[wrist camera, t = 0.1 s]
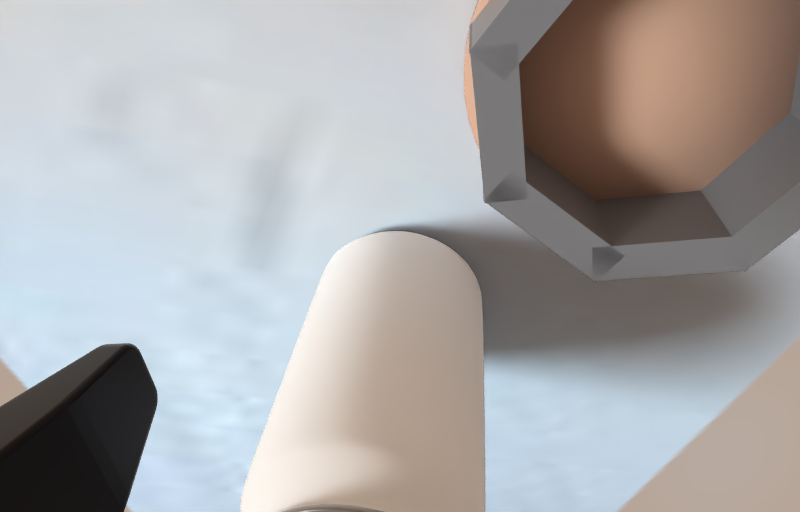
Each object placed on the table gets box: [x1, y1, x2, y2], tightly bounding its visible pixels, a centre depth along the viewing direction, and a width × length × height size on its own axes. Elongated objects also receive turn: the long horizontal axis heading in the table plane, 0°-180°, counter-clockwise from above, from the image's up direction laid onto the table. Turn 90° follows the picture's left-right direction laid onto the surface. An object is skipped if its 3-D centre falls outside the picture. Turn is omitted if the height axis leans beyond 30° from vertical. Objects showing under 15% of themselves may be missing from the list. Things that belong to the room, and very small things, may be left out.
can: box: [240, 231, 485, 512], centre depth 20 cm, size 6×6×12 cm
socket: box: [464, 0, 800, 282], centre depth 18 cm, size 11×11×4 cm
